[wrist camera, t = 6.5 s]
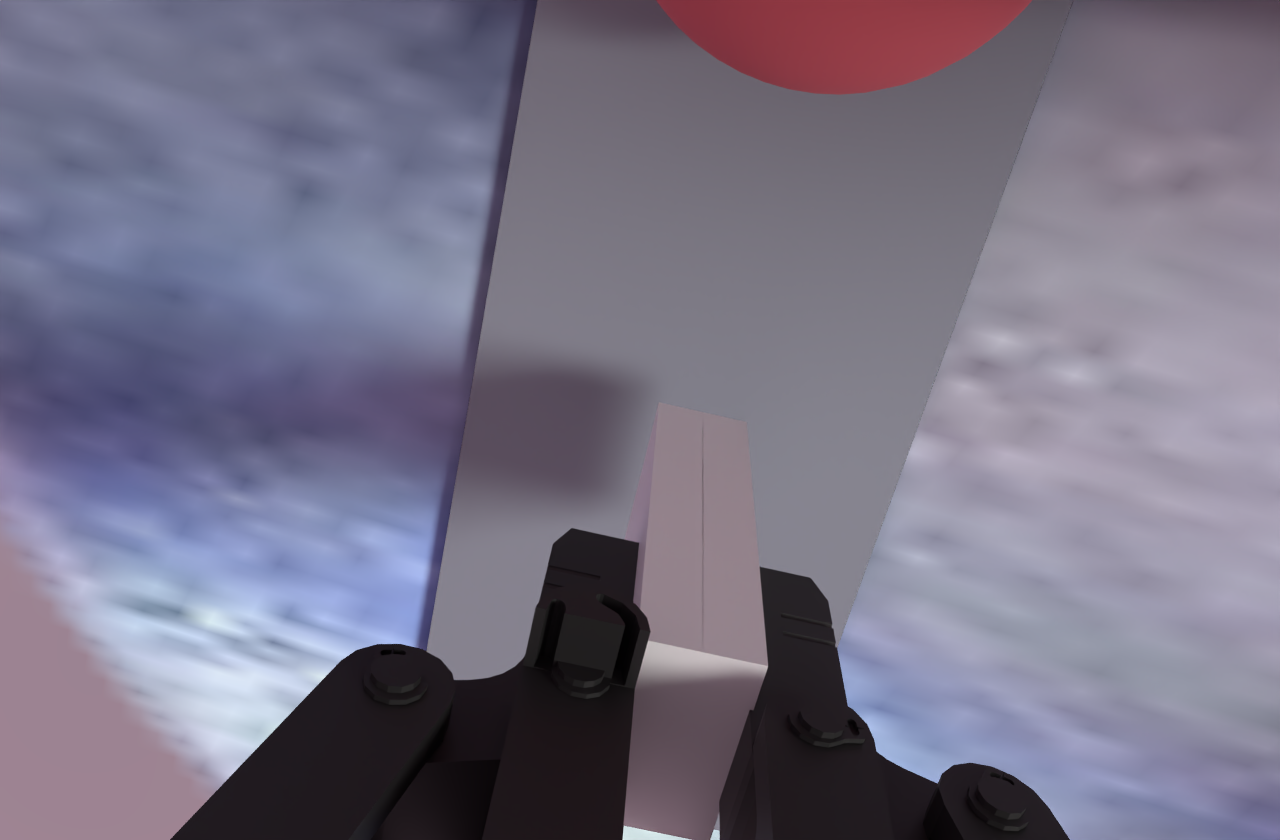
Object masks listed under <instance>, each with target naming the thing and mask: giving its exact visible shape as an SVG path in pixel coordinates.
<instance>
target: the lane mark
mask: <svg viewBox="0 0 1280 840" xmlns="http://www.w3.org/2000/svg"><path fill="white" fill-rule="evenodd" d="M1072 3H1073V0H1032V1H1031V2H1030V3H1029V5H1028V6H1027V7H1026V8H1025V9H1024V10H1023V11H1022V12H1021V13H1020V14H1019V15H1018V16H1017V17H1016V18H1015V19H1014V20H1013V21H1012V22H1011V23H1010V24H1009V25H1008V26H1006V27H1005V28H1004V29H1003V30H1002V31H1000V32H999V33H998V34H997V35H995V36H994V37H993V38H992V39H990V40H989V41H988V42H986V43H985V44H983V45H982V46H981V47H979V48H978V49H976V50H975V51H974V52H972V53H971V54H969V55H968V56H967V57H965V58H963V59H961V60H959V61H957V62H955V63H953V64H951V65H949V66H947V67H945V68H943V69H941V70H939V71H937V72H935V73H933V74H931V75H929V76H927V77H924V78H921V79H918V80H915V81H913V82H910V83H907V84H904V85H900V86H895V87H890V88H885V89H881V90H876V91H871V92H866V93H855V94H842V95H837V94H815V93H809V92H802V91H796V90H790V89H786V88H783V87H779V86H776V85H772V84H769V83H765V82H763V81H760V80H758V79H755V78H753V77H751V76H748V75H746V74H743V73H741V72H739V71H737V70H735V69H734V68H732V67H730V66H728V65H727V64H725V63H723V62H721V61H719V60H718V59H716V58H715V57H713V56H712V55H711V54H709V53H708V52H707V51H705V50H704V49H702V48H701V47H700V46H698V45H697V44H696V43H695V42H694V41H692V40H691V39H690V38H689V37H688V36H687V35H686V34H685V33H684V32H683V31H682V30H681V29H679V28H678V27H677V25H676V24H675V23H674V22H673V21H672V19H671V18H670V17H669V16H668V15H667V14H666V12H665V11H664V10H663V9H662V8H661V6H660V5H659V4H658V2H657V1H656V0H537V6H536V12H535V18H534V24H533V30H532V36H531V41H530V47H529V53H528V59H527V65H526V71H525V77H524V83H523V88H522V94H521V100H520V106H519V112H518V118H517V124H516V129H515V135H514V141H513V147H512V153H511V159H510V165H509V170H508V176H507V182H506V188H505V194H504V200H503V206H502V211H501V217H500V223H499V229H498V235H497V241H496V247H495V252H494V258H493V264H492V270H491V276H490V282H489V288H488V293H487V299H486V305H485V311H484V317H483V323H482V329H481V334H480V340H479V346H478V352H477V358H476V364H475V370H474V375H473V381H472V387H471V393H470V399H469V405H468V411H467V417H466V422H465V428H464V434H463V440H462V446H461V452H460V458H459V463H458V469H457V475H456V481H455V487H454V493H453V499H452V504H451V510H450V516H449V522H448V528H447V534H446V540H445V545H444V551H443V557H442V563H441V569H440V575H439V581H438V586H437V592H436V598H435V604H434V610H433V616H432V622H431V627H430V633H429V639H428V645H427V651H426V652H428V653H430V654H432V655H434V656H435V657H437V658H439V659H441V660H442V662H443V663H444V664H445V665H446V666H447V667H448V669H449V670H450V671H451V672H452V674H453V678H454V680H473V679H482V678H489V677H492V676H496V675H499V674H502V673H504V672H506V671H508V670H510V669H511V668H513V667H515V666H516V665H517V664H518V663H519V662H520V661H521V660H522V659H523V658H524V656H525V653H526V649H527V644H528V640H529V635H530V631H531V626H532V622H533V617H534V612H535V608H536V606H537V604H538V602H539V600H540V596H541V591H542V587H543V583H544V579H545V575H546V571H547V567H548V562H549V558H550V554H551V550H552V546H553V543H554V542H555V541H557V540H558V539H559V538H560V537H561V536H563V535H564V534H565V533H566V532H567V531H569V530H570V529H571V528H574V529H579V530H583V531H588V532H592V533H597V534H602V535H606V536H611V537H615V538H620V539H625V535H626V531H627V527H628V523H629V519H630V515H631V511H632V507H633V503H634V499H635V495H636V491H637V487H638V483H639V479H640V475H641V471H642V467H643V463H644V459H645V455H646V451H647V447H648V443H649V440H650V436H651V432H652V428H653V424H654V420H655V416H656V412H657V408H658V404H659V402H660V403H664V404H669V405H673V406H678V407H682V408H686V409H691V410H695V411H700V412H704V413H709V414H713V415H718V416H722V417H726V418H731V419H735V420H740V421H744V422H747V431H748V443H749V454H750V465H751V477H752V488H753V499H754V511H755V522H756V534H757V545H758V556H759V567H764V568H769V569H773V570H778V571H782V572H787V573H791V574H796V575H801V576H805V577H810V578H811V579H812V580H813V581H814V583H815V584H816V585H817V587H818V588H819V589H820V591H821V592H822V593H823V595H824V596H825V597H826V599H827V600H828V602H829V608H830V613H831V618H832V628H833V629H834V635H835V640H836V644H835V647H838V644H839V641H840V639H841V636H842V633H843V630H844V628H845V625H846V622H847V620H848V617H849V614H850V611H851V609H852V606H853V603H854V600H855V598H856V595H857V592H858V589H859V587H860V584H861V581H862V578H863V576H864V573H865V570H866V567H867V565H868V562H869V559H870V556H871V554H872V551H873V548H874V546H875V543H876V540H877V537H878V535H879V532H880V529H881V526H882V524H883V521H884V518H885V515H886V513H887V510H888V507H889V504H890V502H891V499H892V496H893V493H894V491H895V488H896V485H897V482H898V480H899V477H900V474H901V472H902V469H903V466H904V463H905V461H906V458H907V455H908V452H909V450H910V447H911V444H912V441H913V439H914V436H915V433H916V430H917V428H918V425H919V422H920V419H921V417H922V414H923V411H924V408H925V406H926V403H927V400H928V398H929V395H930V392H931V389H932V387H933V384H934V381H935V378H936V376H937V373H938V370H939V367H940V365H941V362H942V359H943V356H944V354H945V351H946V348H947V345H948V343H949V340H950V337H951V334H952V332H953V329H954V326H955V324H956V321H957V318H958V315H959V313H960V310H961V307H962V304H963V302H964V299H965V296H966V293H967V291H968V288H969V285H970V282H971V280H972V277H973V274H974V271H975V269H976V266H977V263H978V260H979V258H980V255H981V252H982V250H983V247H984V244H985V241H986V239H987V236H988V233H989V230H990V228H991V225H992V222H993V219H994V217H995V214H996V211H997V208H998V206H999V203H1000V200H1001V197H1002V195H1003V192H1004V189H1005V186H1006V184H1007V181H1008V178H1009V176H1010V173H1011V170H1012V167H1013V165H1014V162H1015V159H1016V156H1017V154H1018V151H1019V148H1020V145H1021V143H1022V140H1023V137H1024V134H1025V132H1026V129H1027V126H1028V123H1029V121H1030V118H1031V115H1032V112H1033V110H1034V107H1035V104H1036V102H1037V99H1038V96H1039V93H1040V91H1041V88H1042V85H1043V82H1044V80H1045V77H1046V74H1047V71H1048V69H1049V66H1050V63H1051V60H1052V58H1053V55H1054V52H1055V49H1056V47H1057V44H1058V41H1059V38H1060V36H1061V33H1062V30H1063V28H1064V25H1065V22H1066V19H1067V17H1068V14H1069V11H1070V8H1071V6H1072ZM714 829H715V830H720V819H719V815H718V818H717V821H716V824H715V827H714Z"/></svg>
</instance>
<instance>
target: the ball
mask: <svg viewBox="0 0 1280 840" xmlns="http://www.w3.org/2000/svg"><path fill="white" fill-rule="evenodd" d="M656 1H657V2H658V4H659V5H660V6H661V8H662V9H663V10H664V11H665V12H666V14H667V15H668V16H669V17H670V18H671V19H672V21H673V22H674V23H675V24H676V25H677V27H678V28H679V29H681V30H682V31H683V32H684V33H685V34H686V35H687V36H688V37H689V38H690V39H691V40H692V41H694V42H695V43H696V44H697V45H698V46H700V47H701V48H702V49H704V50H705V51H707V52H708V53H709V54H711V55H712V56H713V57H715V58H716V59H718V60H719V61H721V62H723V63H725V64H727V65H728V66H730V67H732V68H734V69H735V70H737V71H739V72H741V73H743V74H746V75H748V76H751V77H753V78H755V79H758V80H760V81H763V82H765V83H769V84H772V85H776V86H779V87H783V88H786V89H790V90H796V91H802V92H809V93H815V94H837V95H842V94H855V93H866V92H871V91H876V90H881V89H885V88H890V87H895V86H900V85H904V84H907V83H910V82H913V81H915V80H918V79H921V78H924V77H927V76H929V75H931V74H933V73H935V72H937V71H939V70H941V69H943V68H945V67H947V66H949V65H951V64H953V63H955V62H957V61H959V60H961V59H963V58H965V57H967V56H968V55H969V54H971V53H972V52H974V51H975V50H976V49H978V48H979V47H981V46H982V45H983V44H985V43H986V42H988V41H989V40H990V39H992V38H993V37H994V36H995V35H997V34H998V33H999V32H1000V31H1002V30H1003V29H1004V28H1005V27H1006V26H1008V25H1009V24H1010V23H1011V22H1012V21H1013V20H1014V19H1015V18H1016V17H1017V16H1018V15H1019V14H1020V13H1021V12H1022V11H1023V10H1024V9H1025V8H1026V7H1027V6H1028V5H1029V3H1030V2H1031V1H1032V0H656Z"/></svg>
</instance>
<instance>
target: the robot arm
mask: <svg viewBox="0 0 1280 840" xmlns="http://www.w3.org/2000/svg"><path fill="white" fill-rule="evenodd" d="M835 644H836V640H835V635H834V629H833V628H832V618H831V613H830V608H829V602H828V600H827V599H826V597H825V596H824V595H823V593H822V592H821V591H820V589H819V588H818V587H817V585H816V584H815V583H814V581H813V580H812V579H811V578H810V577H805V576H801V575H796V574H791V573H787V572H782V571H778V570H773V569H769V568H764V567H759V556H758V545H757V534H756V522H755V511H754V499H753V488H752V477H751V465H750V454H749V443H748V431H747V422H744V421H740V420H735V419H731V418H726V417H722V416H718V415H713V414H709V413H704V412H700V411H695V410H691V409H686V408H682V407H678V406H673V405H669V404H664V403H660V402H659V404H658V408H657V412H656V416H655V420H654V424H653V428H652V432H651V436H650V440H649V443H648V447H647V451H646V455H645V459H644V463H643V467H642V471H641V475H640V479H639V483H638V487H637V491H636V495H635V499H634V503H633V507H632V511H631V515H630V519H629V523H628V527H627V531H626V535H625V539H620V538H615V537H611V536H606V535H602V534H597V533H592V532H588V531H583V530H579V529H574V528H571V529H570V530H569V531H567V532H566V533H565V534H564V535H563V536H561V537H560V538H559V539H558V540H557V541H555V542H554V543H553V546H552V550H551V554H550V558H549V562H548V567H547V571H546V575H545V579H544V583H543V587H542V591H541V596H540V600H539V602H538V604H537V606H536V608H535V612H534V617H533V622H532V626H531V631H530V635H529V640H528V644H527V649H526V653H525V656H524V658H523V659H522V660H521V661H520V662H519V663H518V664H517V665H516V666H515V667H513V668H511V669H510V670H508V671H506V672H504V673H502V674H499V675H496V676H492V677H489V678H482V679H473V680H454V678H453V674H452V672H451V671H450V670H449V669H448V667H447V666H446V665H445V664H444V663H443V662H442V660H441V659H439V658H437V657H435V656H434V655H432V654H430V653H428V652H426V651H425V650H423V649H419V648H415V647H411V646H406V645H402V644H377V645H373V646H370V647H366V648H363V649H359V650H356V651H355V652H353V653H352V654H350V655H349V656H347V657H346V658H344V659H343V660H342V661H340V662H339V663H338V664H337V665H336V667H335V668H334V669H333V670H332V671H331V672H330V673H329V674H328V675H327V676H326V677H325V678H324V679H323V680H322V681H321V682H320V683H319V684H318V685H317V686H316V687H315V689H314V690H313V691H312V692H311V693H310V694H309V695H308V696H307V697H306V698H305V699H304V700H303V701H302V702H301V703H300V704H299V705H298V706H297V707H296V708H295V709H294V711H293V712H292V713H291V714H290V715H289V716H288V717H287V718H286V719H285V720H284V721H283V722H282V723H281V724H280V725H279V726H278V727H277V728H276V729H275V730H274V731H273V732H272V734H271V735H270V736H269V737H268V738H267V739H266V740H265V741H264V742H263V743H262V744H261V745H260V746H259V747H258V748H257V749H256V750H255V751H254V752H253V753H252V754H251V756H250V757H249V758H248V759H247V760H246V761H245V762H244V763H243V764H242V765H241V766H240V767H239V768H238V769H237V770H236V771H235V772H234V773H233V774H232V775H231V776H230V778H229V779H228V780H227V781H226V782H225V783H224V784H223V785H222V786H221V787H220V788H219V789H218V790H217V791H216V792H215V793H214V794H213V795H212V796H211V797H210V798H209V800H208V801H207V802H206V803H205V804H204V805H203V806H202V807H201V808H200V809H199V810H198V811H197V812H196V813H195V814H194V815H193V816H192V818H190V820H188V822H187V823H186V824H185V825H184V826H183V827H182V828H181V829H180V830H179V831H178V832H177V833H176V834H175V835H174V836H173V838H171V839H170V840H622V838H623V826H629V827H634V828H639V829H644V830H648V831H653V832H658V833H663V834H668V835H673V836H677V837H682V838H687V839H692V840H710V838H711V835H712V832H713V830H714V827H715V824H716V821H717V818H718V815H719V819H720V840H1070V839H1069V838H1068V836H1067V835H1066V833H1065V832H1064V830H1063V829H1062V827H1061V826H1060V824H1059V823H1058V821H1057V820H1056V818H1055V817H1054V815H1053V814H1052V812H1051V810H1050V809H1049V807H1048V806H1047V805H1046V804H1045V803H1044V802H1043V801H1042V799H1041V798H1040V797H1039V796H1038V795H1037V794H1036V793H1035V792H1034V790H1032V789H1031V788H1029V787H1028V786H1027V785H1025V784H1024V783H1022V782H1021V781H1020V780H1018V779H1017V778H1015V777H1014V776H1012V775H1010V774H1007V773H1005V772H1003V771H1001V770H998V769H996V768H994V767H991V766H986V765H980V764H975V763H966V764H959V765H953V766H952V767H950V768H949V769H948V770H946V771H945V772H944V773H942V775H941V778H940V780H939V782H938V784H937V783H935V782H933V781H930V780H928V779H926V778H924V777H921V776H919V775H917V774H915V773H912V772H910V771H908V770H906V769H904V768H902V767H900V766H898V765H896V764H894V763H892V762H891V761H889V760H887V759H886V758H884V757H883V756H881V755H880V754H879V753H877V752H876V747H875V742H874V738H873V736H872V734H871V732H870V730H869V728H868V725H867V724H866V723H865V722H864V721H863V720H862V718H861V717H860V716H859V715H858V714H857V713H856V712H855V711H854V710H853V709H851V708H849V707H848V705H847V700H846V694H845V689H844V683H843V678H842V673H841V667H840V662H839V656H838V651H837V647H835Z"/></svg>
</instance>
